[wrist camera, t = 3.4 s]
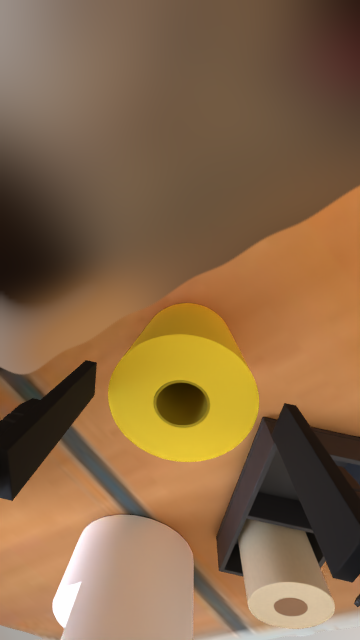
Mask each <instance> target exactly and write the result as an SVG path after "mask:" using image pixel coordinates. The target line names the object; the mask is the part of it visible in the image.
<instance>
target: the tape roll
mask: <svg viewBox="0 0 360 640" xmlns="http://www.w3.org/2000/svg"><path fill="white" fill-rule="evenodd" d="M108 401H109V407H110V411H111V414H112V416H113V418H114V421H115V422H116V424H117V426H118V427H119V429H120V430H121V431H122V433H123V434H124V435H125V436H126V437H127V438H128V439H129V440H130V441H131V442H132V443H134V444H135V445H136V446H138V447H139V448H141V449H142V450H144V451H146V452H148V453H150V454H152V455H154V456H157V457H160V458H163V459H167V460H172V461H179V462H196V461H203V460H208V459H212V458H215V457H218V456H220V455H223V454H225V453H227V452H228V451H230V450H232V449H233V448H235V447H236V446H237V445H238V444H240V443H241V442H242V441H243V440H244V439H245V437H246V436H247V435H248V434H249V432H250V431H251V429H252V427H253V425H254V423H255V421H256V418H257V414H258V409H259V394H258V389H257V385H256V382H255V380H254V378H253V375H252V374H251V372H250V370H249V368H248V366H247V364H246V362H245V360H244V358H243V356H242V354H241V352H240V350H239V348H238V346H237V344H236V342H235V340H234V338H233V336H232V334H231V332H230V330H229V329H228V327H227V325H226V323H225V322H224V320H223V319H222V318H221V317H220V316H219V315H218V314H217V313H215V312H214V311H212V310H211V309H209V308H207V307H205V306H202V305H198V304H193V303H180V304H175V305H172V306H169V307H167V308H165V309H163V310H162V311H160V312H159V313H158V314H156V315H155V316H154V317H153V318H152V320H151V321H150V322H149V324H148V325H147V326H146V328H145V329H144V330H143V331H142V333H141V334H140V335H139V337H138V338H137V339H136V341H135V342H134V343H133V344H132V346H131V347H130V348H129V350H128V351H127V352H126V354H125V355H124V356H123V358H122V359H121V360H120V361H119V363H118V364H117V366H116V367H115V369H114V371H113V373H112V376H111V379H110V382H109V388H108Z"/></svg>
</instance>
